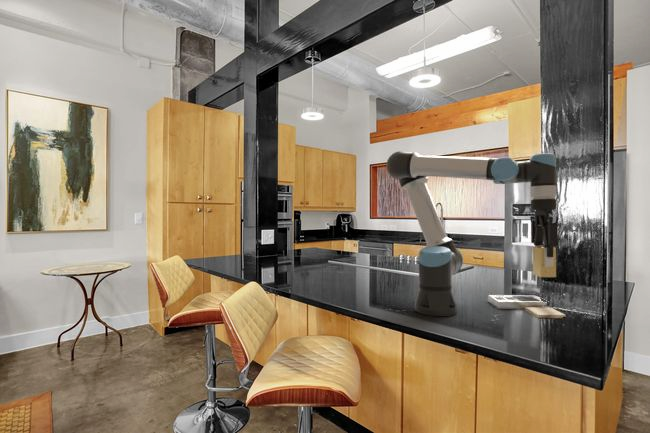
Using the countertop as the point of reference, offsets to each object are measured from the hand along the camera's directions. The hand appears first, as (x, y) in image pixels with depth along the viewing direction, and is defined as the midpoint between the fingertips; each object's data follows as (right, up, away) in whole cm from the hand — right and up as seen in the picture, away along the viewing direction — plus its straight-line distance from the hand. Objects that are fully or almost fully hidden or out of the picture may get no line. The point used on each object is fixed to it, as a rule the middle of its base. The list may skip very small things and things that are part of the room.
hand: (544, 265), depth 118 cm
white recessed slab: (-3, -17, +12) cm, 21 cm away
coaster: (0, -18, 0) cm, 18 cm away
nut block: (0, -4, 0) cm, 4 cm away
